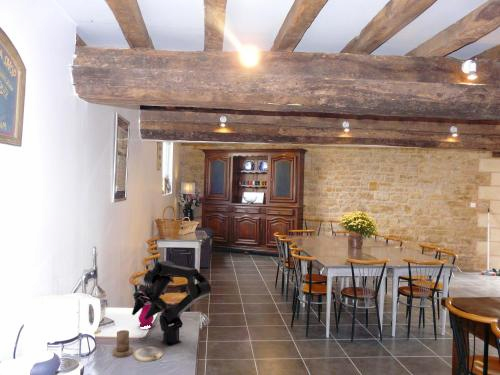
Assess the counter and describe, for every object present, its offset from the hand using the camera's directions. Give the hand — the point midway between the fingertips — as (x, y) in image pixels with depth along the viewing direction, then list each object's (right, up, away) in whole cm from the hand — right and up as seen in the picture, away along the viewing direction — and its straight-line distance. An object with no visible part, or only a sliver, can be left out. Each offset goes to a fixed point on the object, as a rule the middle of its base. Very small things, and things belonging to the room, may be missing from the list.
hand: (138, 317), depth 180 cm
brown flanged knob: (-5, -14, -6) cm, 16 cm away
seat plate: (+6, -14, -7) cm, 17 cm away
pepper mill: (-3, -13, +24) cm, 28 cm away
